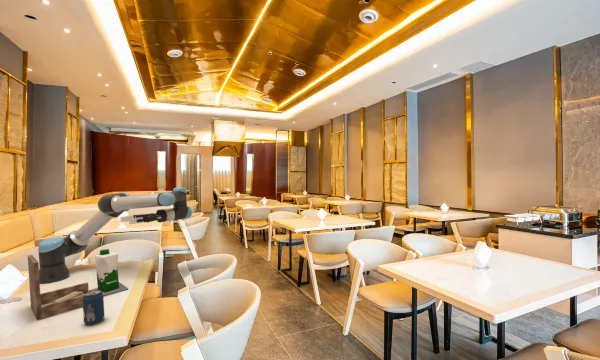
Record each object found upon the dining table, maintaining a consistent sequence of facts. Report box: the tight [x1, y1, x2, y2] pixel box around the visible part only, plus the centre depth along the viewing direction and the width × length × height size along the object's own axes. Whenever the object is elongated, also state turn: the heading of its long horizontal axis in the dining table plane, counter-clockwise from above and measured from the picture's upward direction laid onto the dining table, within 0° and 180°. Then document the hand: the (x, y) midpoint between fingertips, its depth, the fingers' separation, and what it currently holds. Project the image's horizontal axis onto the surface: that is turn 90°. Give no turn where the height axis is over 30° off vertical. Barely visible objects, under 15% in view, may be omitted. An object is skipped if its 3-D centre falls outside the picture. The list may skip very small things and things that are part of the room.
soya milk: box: [94, 248, 120, 292], centre depth 156 cm, size 9×9×20 cm
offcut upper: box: [52, 291, 84, 303], centre depth 139 cm, size 4×11×2 cm, turn 170°
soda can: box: [82, 290, 105, 326], centre depth 122 cm, size 7×7×12 cm
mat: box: [88, 282, 129, 298], centre depth 156 cm, size 14×14×1 cm
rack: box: [27, 254, 90, 321], centre depth 140 cm, size 22×20×24 cm
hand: (124, 220), depth 162 cm, fingers open, 13 cm apart
